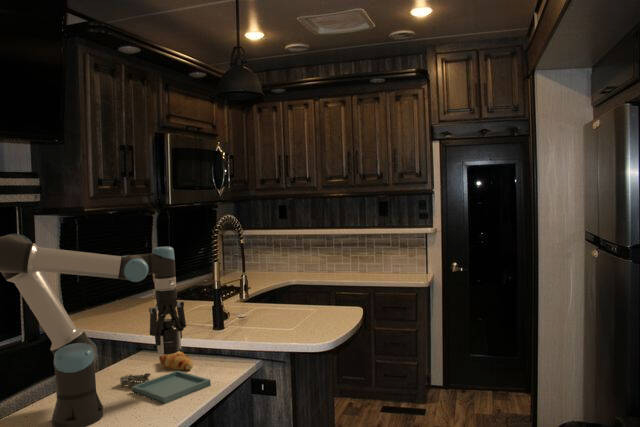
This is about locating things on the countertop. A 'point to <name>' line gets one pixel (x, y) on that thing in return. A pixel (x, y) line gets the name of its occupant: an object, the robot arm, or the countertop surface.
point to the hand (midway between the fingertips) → (169, 350)
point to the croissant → (176, 361)
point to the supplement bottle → (170, 337)
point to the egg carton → (134, 379)
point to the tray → (171, 386)
